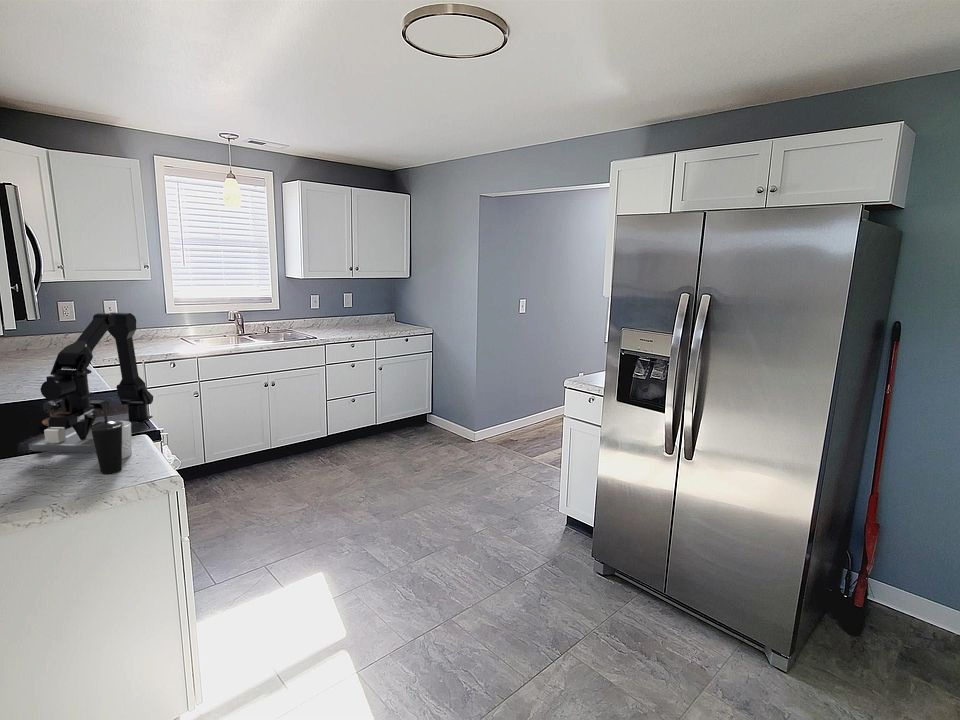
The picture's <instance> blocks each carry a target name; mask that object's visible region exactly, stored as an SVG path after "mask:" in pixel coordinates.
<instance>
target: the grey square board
mask: <svg viewBox="0 0 960 720" xmlns="http://www.w3.org/2000/svg"><path fill="white" fill-rule="evenodd" d="M65 435H66V440H64V441H62V442H60V443H46V442H45V438H44V439H41V440H39V441H37V442H35V443H32V444H31V450H32V452H47V453H49V452H52V453H54V452H55V453H87V454H90V453H91V454H93V453H96V449H95V444H94V440H93V439H84V440H81V439H80V438H79V436H78V435H77V433H76V431H75V430H74V428H73V427H72V426H70V427H67V428H65Z"/></svg>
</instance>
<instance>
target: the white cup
mask: <svg viewBox="0 0 960 720" xmlns="http://www.w3.org/2000/svg"><path fill="white" fill-rule="evenodd" d="M119 421H120V422H122V423H123V426H122V460H124V459H126V458H129V457H131V455H132V452H133V451H132V445H133V444H132V422H129V421H125V420H119Z"/></svg>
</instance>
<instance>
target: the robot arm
mask: <svg viewBox="0 0 960 720" xmlns="http://www.w3.org/2000/svg"><path fill="white" fill-rule="evenodd" d="M136 331H137V319H136V316H135V315H134V314H133V313H131V312H109V313H108V312H107V313H106V312H104V313H103V312H97V313H95V314H94V315H93V317H92V320H91V321H90V322H89V324H88V325H87V326H86V327H85V329H84V330H83V331H82V333H81V334H80V335H79V337H78V338H77V339H76V340H75V342H73V343H71V344H69V345H67V346H65V347H64V348H63V349H61V350H60V351H59V352H58V354H57V356H56V358H55V361H54V363H53V366H52V369H51V371H50V375H47V376H46V381H44V382H43V383H42V384H41V387H40V393H41V395H42V396H43V397H44V398H45V399H47V400H49V401H47V402H44V403H43V411H44V412H45V413H46V414H49V415H50V414H51V415H53V414H54V413H57V412H60V411H62V413H67V412H69V413H70V414H60V413H59V414H56V415H54V416H51V417H50V416H49V417H48V418H49V419H48V426H50V427H49V428H51V427H64V428H70V427H73V428H74V430H75V431H76V433H77V435H78V436H79V438H80V439H81V440H84V439H86V437H87V435H88V432H89V430H90V426H91V425H92V424H94V422H95V420H96V418H97V417H98V414H94V413H93V411H95V410H98V409H99V410H100V411H102V412H104V411H103V403H106V411H107V410H109V409H110V404H109V402H108V401H107V400H101V399H100V400H97V399H96V400H95V399H92V400H91V397H92V396H94V394H93V391H92V392H91V391H90V389H89V380H88V378H89V377H88V375H89V374H92V370H90V369H88V367H89V366H90V364H91V362H92V360H93V357H94V356H93V351H94V349H95V348H96V346H97V345H98V343H99V342H100V341H101V339H102V338H103V337H104V336H105V334H106V333H107V332H108V333H109V334H110V335H111V336H112V338H113V339H114V340H115V344H116V351H117V356H118V357H117V358H118V363H119V369H120V375H121V380H120V382H119V384H117V385H116V391H117V397H119V400H120V404H121V405H125V406H126V405H127V413H128V414H127V415H128V418H126V420H125V419H124V421H129V422H131V423H144V422H146V421H148V420H150V419H152V418H153V415H149V409H148V408H149V407H148V405H151V404H152V403H153V402H154V395H153V394H151V392H150V391H149V390H148V388H147V386H146V385H147V384H146V382H145V381H144V380H143V379H142V378H141V377H140V376H139V371H138V365H137V364H138V363H137V358H136V353H135V352H136V351H135V346H134V340H133V339H134V338H133V336H134V334H135V333H136ZM60 398H61V399H60ZM59 399H60V400H59ZM55 400H57V401H55ZM48 426H47V427H48Z"/></svg>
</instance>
